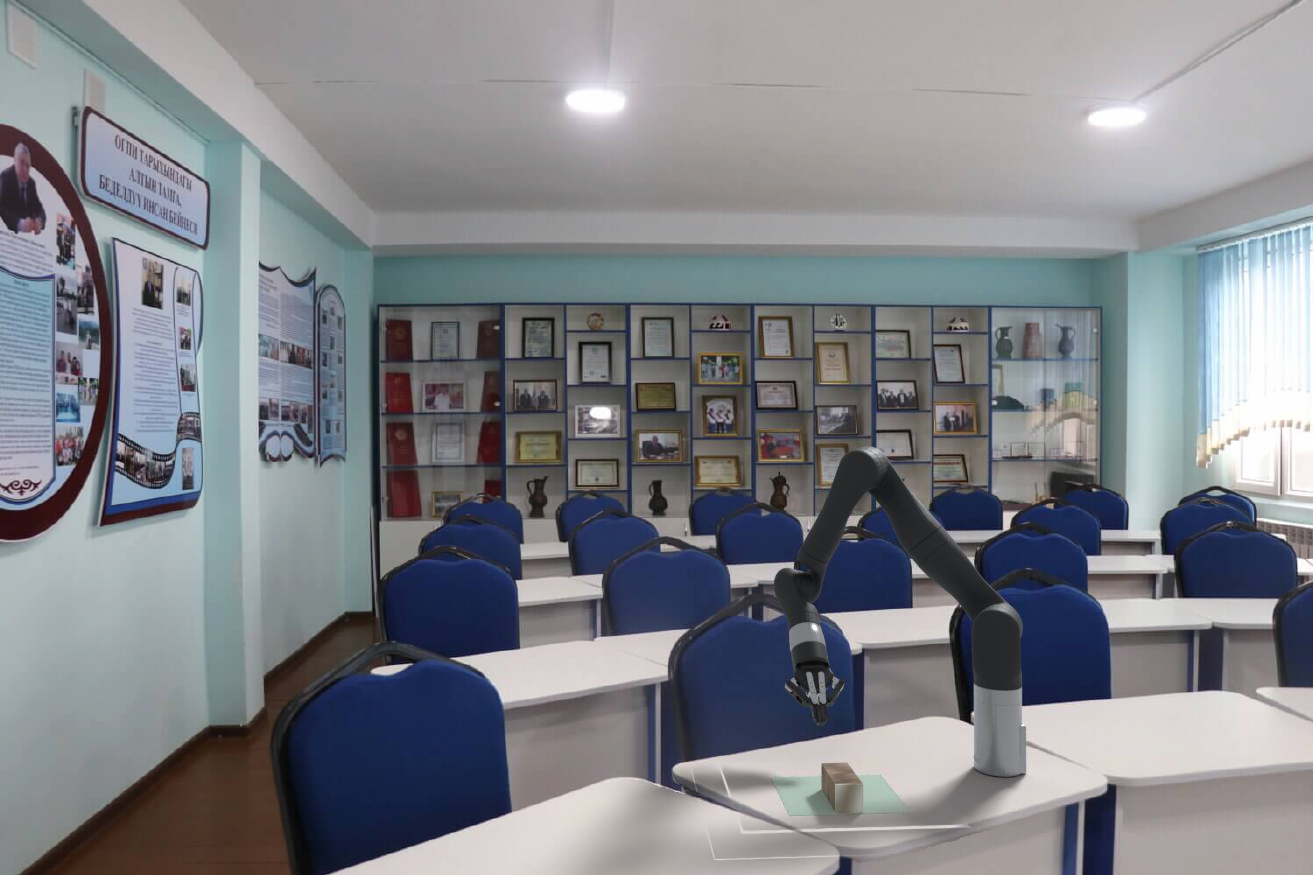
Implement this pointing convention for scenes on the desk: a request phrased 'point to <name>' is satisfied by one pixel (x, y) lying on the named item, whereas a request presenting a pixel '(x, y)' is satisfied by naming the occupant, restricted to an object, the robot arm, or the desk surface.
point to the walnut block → (842, 787)
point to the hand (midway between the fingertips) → (821, 723)
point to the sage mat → (810, 799)
